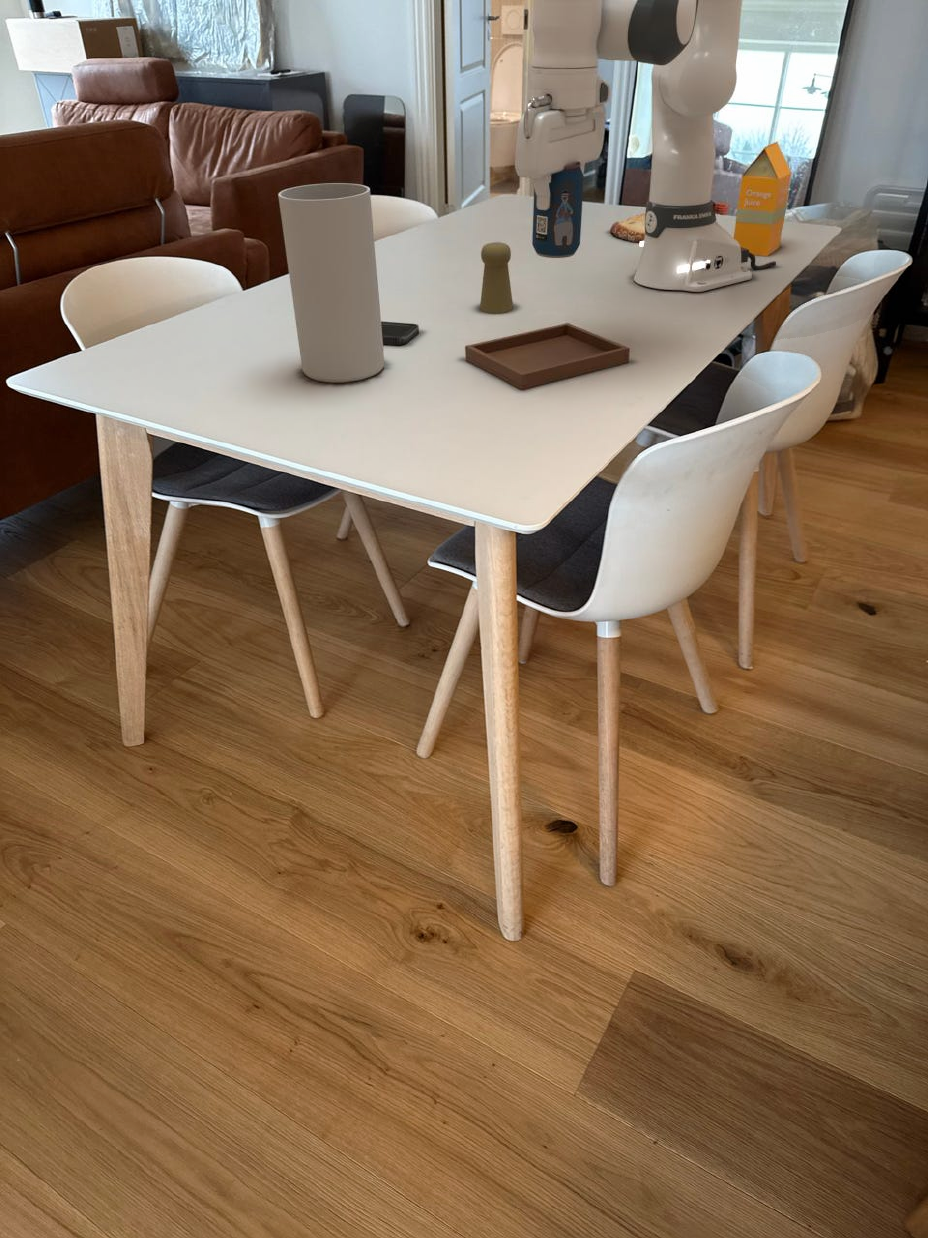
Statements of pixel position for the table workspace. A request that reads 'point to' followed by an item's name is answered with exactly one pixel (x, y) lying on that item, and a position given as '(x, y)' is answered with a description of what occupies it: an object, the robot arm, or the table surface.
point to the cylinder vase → (333, 280)
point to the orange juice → (763, 202)
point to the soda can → (560, 215)
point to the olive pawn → (496, 279)
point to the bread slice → (630, 229)
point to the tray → (546, 355)
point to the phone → (398, 332)
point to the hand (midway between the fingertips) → (558, 203)
